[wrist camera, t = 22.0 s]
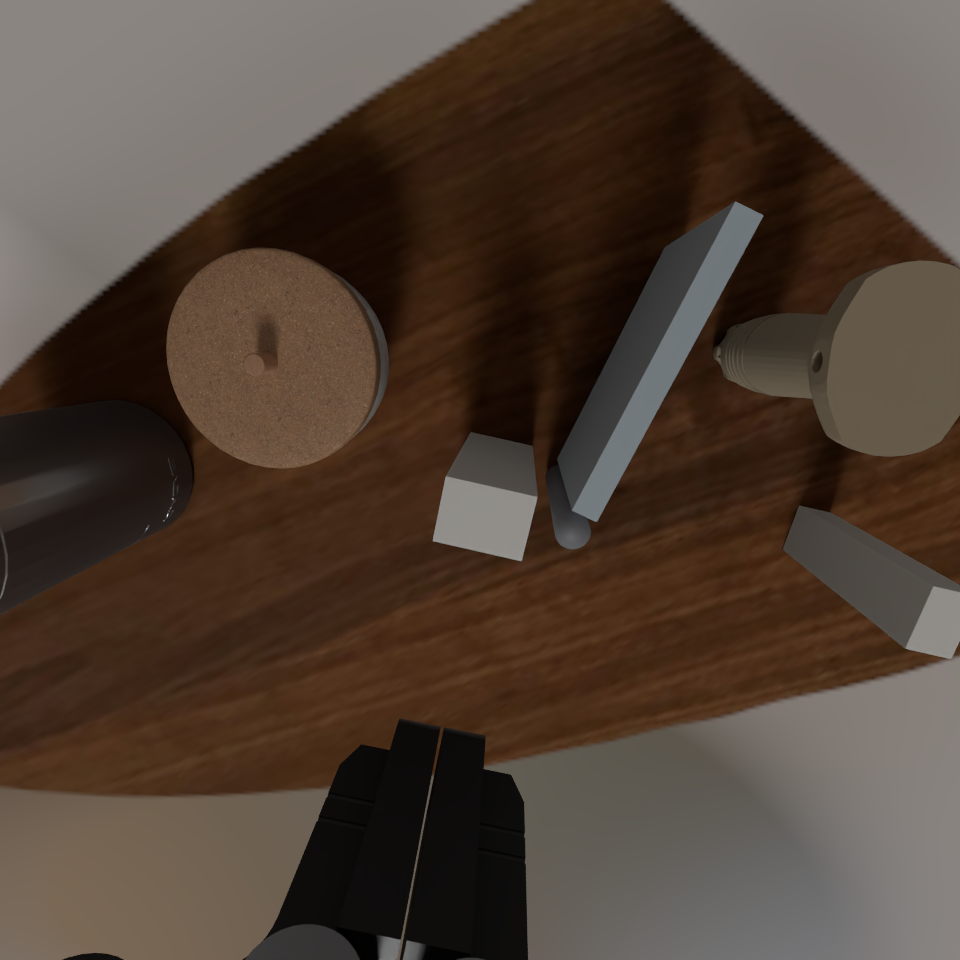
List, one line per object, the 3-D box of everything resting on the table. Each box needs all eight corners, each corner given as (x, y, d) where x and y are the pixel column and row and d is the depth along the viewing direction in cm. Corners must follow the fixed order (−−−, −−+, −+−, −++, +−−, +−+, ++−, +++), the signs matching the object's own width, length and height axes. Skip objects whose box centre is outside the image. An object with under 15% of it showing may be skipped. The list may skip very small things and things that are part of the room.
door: (564, 493, 36) (581, 558, 25) (541, 483, 36) (549, 543, 25) (686, 258, 32) (768, 217, 21) (661, 245, 32) (730, 199, 21)
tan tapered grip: (788, 295, 33) (1001, 259, 18) (775, 407, 34) (961, 456, 20) (701, 296, 33) (843, 262, 18) (693, 407, 35) (816, 456, 20)
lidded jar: (368, 239, 34) (311, 203, 25) (432, 411, 36) (402, 435, 27) (210, 304, 35) (102, 291, 26) (281, 464, 37) (203, 504, 28)
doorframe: (461, 477, 37) (432, 540, 25) (470, 431, 36) (445, 476, 24) (813, 556, 36) (951, 658, 25) (830, 512, 35) (980, 596, 24)
